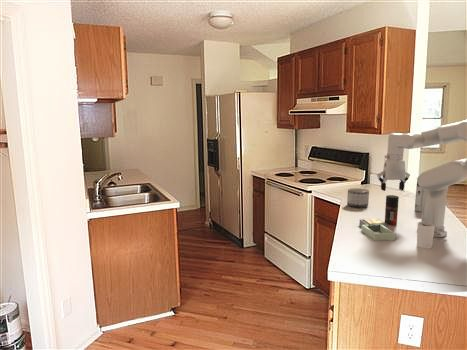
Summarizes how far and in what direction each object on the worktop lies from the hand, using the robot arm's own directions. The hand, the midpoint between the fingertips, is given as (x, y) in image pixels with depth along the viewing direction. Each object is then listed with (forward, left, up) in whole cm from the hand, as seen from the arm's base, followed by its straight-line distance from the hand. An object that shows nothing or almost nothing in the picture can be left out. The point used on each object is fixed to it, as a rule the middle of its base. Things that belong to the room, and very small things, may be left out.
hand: (392, 190), depth 182 cm
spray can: (+24, -32, -19) cm, 44 cm away
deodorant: (0, 0, -19) cm, 19 cm away
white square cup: (-32, +2, -19) cm, 37 cm away
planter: (+38, +1, -19) cm, 43 cm away
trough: (-16, +15, -18) cm, 29 cm away
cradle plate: (-5, +12, -16) cm, 21 cm away
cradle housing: (-5, +12, -18) cm, 22 cm away
